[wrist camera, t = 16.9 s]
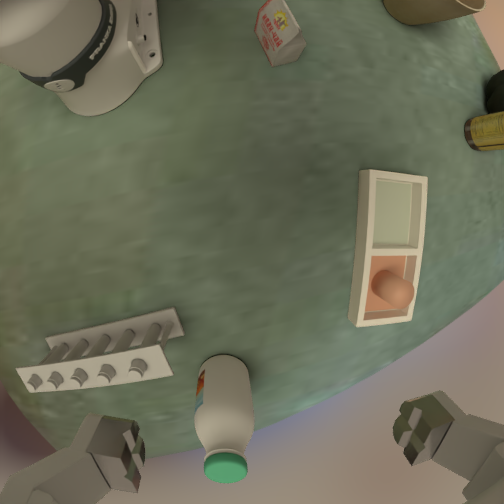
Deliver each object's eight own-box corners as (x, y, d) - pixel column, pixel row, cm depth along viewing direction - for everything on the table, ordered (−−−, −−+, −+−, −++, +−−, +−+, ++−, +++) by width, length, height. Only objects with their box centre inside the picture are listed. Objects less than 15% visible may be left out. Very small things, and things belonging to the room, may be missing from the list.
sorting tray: (358, 170, 39) (369, 169, 36) (414, 177, 40) (427, 177, 36) (347, 317, 44) (356, 327, 40) (400, 312, 44) (411, 320, 41)
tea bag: (278, 25, 34) (291, -12, 24) (296, 61, 35) (315, 29, 25) (254, 30, 34) (262, -7, 24) (272, 67, 35) (285, 34, 25)
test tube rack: (174, 306, 41) (155, 354, 28) (185, 332, 42) (171, 386, 29) (47, 336, 40) (7, 375, 27) (58, 358, 41) (23, 400, 28)
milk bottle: (215, 344, 43) (212, 445, 23) (258, 367, 44) (277, 466, 25) (190, 378, 44) (176, 477, 24) (231, 398, 45) (236, 496, 26)
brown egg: (373, 269, 41) (393, 280, 35) (395, 270, 42) (416, 281, 36) (368, 295, 42) (388, 309, 36) (390, 296, 42) (410, 308, 36)
